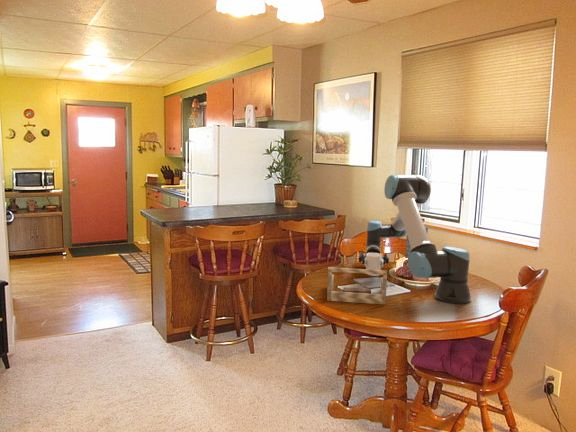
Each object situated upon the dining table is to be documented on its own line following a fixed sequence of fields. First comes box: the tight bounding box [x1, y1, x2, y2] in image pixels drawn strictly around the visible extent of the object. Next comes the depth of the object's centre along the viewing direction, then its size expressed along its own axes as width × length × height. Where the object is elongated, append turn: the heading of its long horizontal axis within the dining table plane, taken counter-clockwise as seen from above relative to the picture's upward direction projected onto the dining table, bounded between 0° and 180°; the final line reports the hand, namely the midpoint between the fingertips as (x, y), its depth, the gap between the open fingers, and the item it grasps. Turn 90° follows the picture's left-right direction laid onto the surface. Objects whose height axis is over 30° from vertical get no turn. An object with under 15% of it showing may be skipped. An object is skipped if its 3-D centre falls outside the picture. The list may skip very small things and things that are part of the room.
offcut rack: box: [326, 266, 388, 305], centre depth 216 cm, size 25×21×15 cm
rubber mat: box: [352, 276, 395, 289], centre depth 237 cm, size 15×15×1 cm
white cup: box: [365, 253, 383, 277], centre depth 236 cm, size 8×8×10 cm
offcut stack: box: [338, 286, 372, 294], centre depth 212 cm, size 14×6×5 cm, turn 91°
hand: (373, 264), depth 232 cm, fingers closed on white cup, 8 cm apart
